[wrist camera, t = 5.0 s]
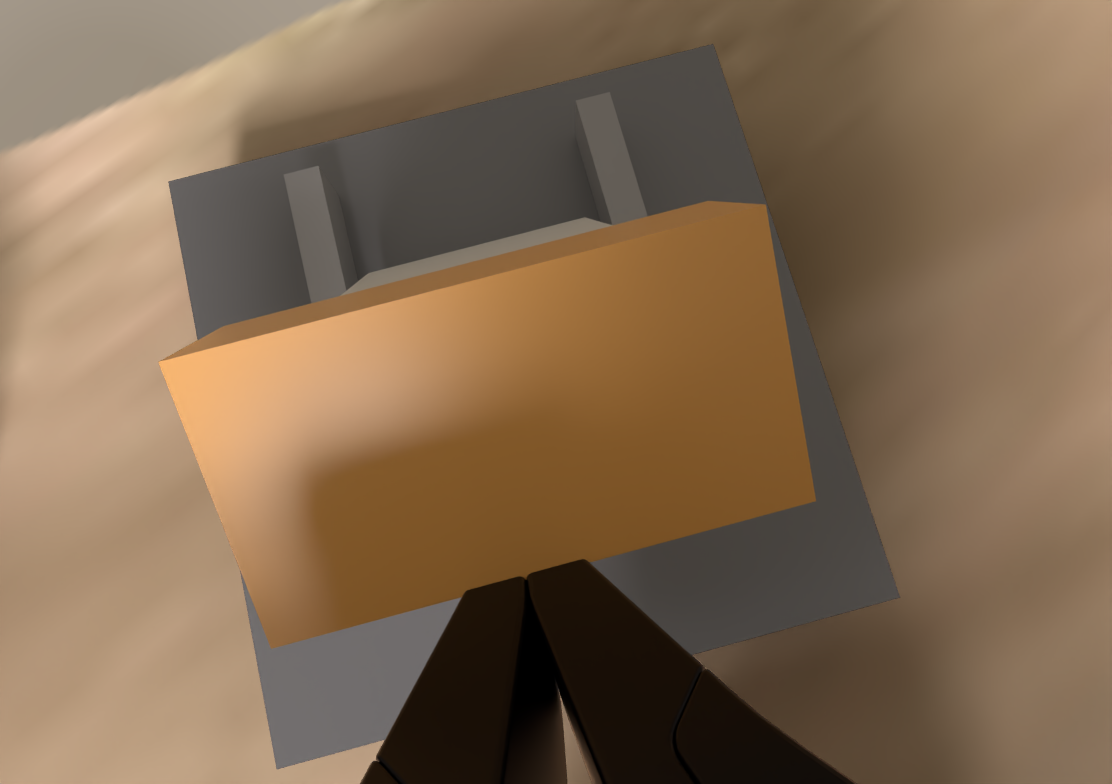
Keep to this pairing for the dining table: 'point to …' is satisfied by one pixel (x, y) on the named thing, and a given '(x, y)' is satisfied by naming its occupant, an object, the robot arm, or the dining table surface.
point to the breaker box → (491, 214)
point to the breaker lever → (498, 414)
